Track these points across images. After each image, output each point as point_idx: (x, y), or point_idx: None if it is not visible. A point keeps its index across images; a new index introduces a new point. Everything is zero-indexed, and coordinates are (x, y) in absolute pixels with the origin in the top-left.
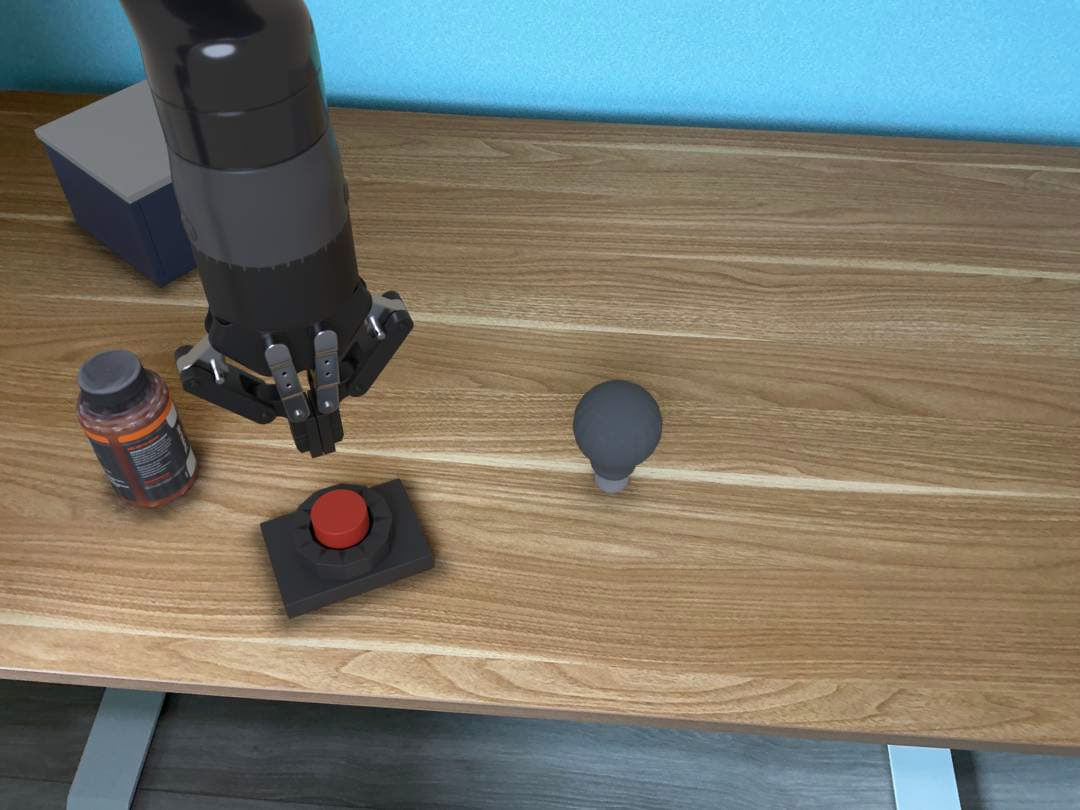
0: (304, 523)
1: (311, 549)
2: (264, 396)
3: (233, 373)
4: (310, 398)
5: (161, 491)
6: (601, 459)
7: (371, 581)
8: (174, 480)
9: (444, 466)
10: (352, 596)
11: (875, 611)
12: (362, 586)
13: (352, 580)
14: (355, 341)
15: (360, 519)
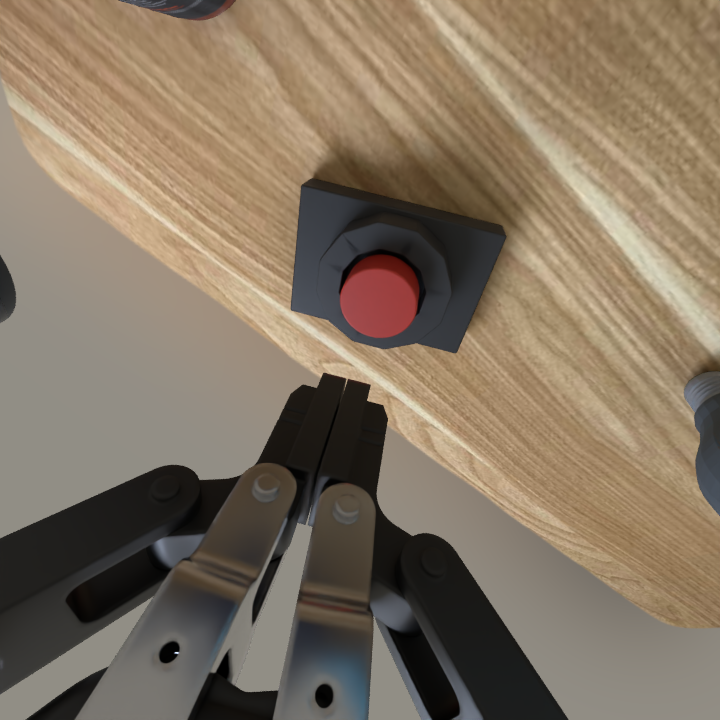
0: (340, 263)
1: (331, 302)
2: (170, 563)
3: (36, 617)
4: (316, 491)
5: (174, 15)
6: (700, 487)
7: None
8: (194, 9)
9: (584, 222)
10: None
11: (700, 560)
12: None
13: None
14: (459, 697)
15: (394, 333)
